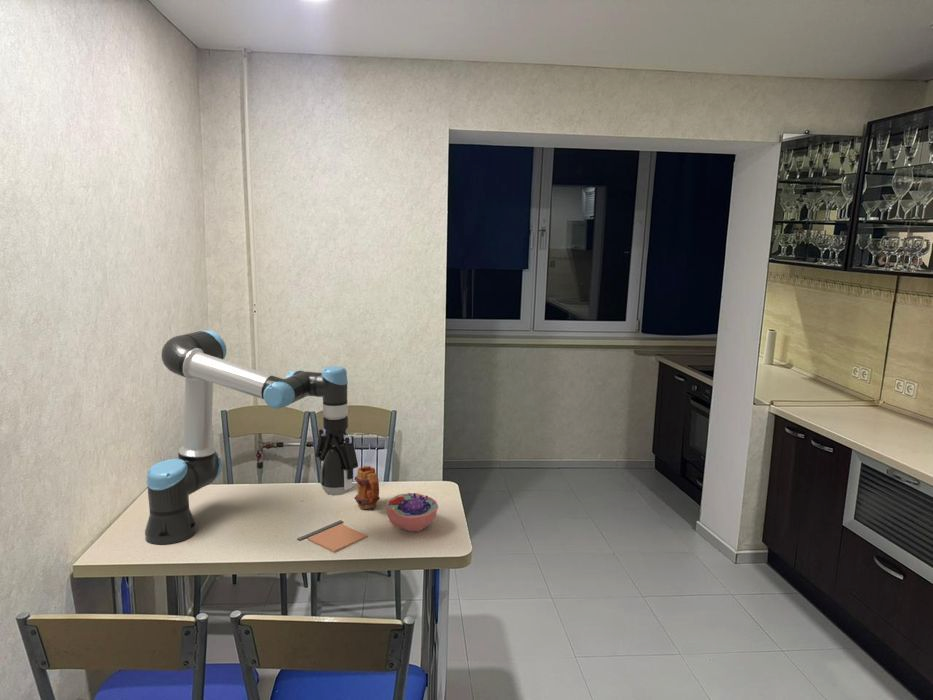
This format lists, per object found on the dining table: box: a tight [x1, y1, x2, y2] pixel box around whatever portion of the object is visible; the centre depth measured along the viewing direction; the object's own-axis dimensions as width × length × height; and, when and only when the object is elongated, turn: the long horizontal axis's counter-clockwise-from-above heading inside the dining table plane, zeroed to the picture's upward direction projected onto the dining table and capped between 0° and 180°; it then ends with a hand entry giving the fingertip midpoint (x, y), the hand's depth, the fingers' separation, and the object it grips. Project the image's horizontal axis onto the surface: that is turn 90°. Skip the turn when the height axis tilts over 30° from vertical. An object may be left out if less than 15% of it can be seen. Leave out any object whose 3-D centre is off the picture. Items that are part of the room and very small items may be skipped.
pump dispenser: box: [319, 446, 354, 496], centre depth 206 cm, size 10×10×15 cm
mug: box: [353, 465, 380, 510], centre depth 232 cm, size 15×8×15 cm, turn 27°
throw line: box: [296, 519, 344, 542], centre depth 216 cm, size 2×18×1 cm, turn 141°
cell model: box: [385, 492, 439, 533], centre depth 219 cm, size 17×20×11 cm
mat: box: [306, 523, 369, 554], centre depth 211 cm, size 13×14×1 cm
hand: (336, 483), depth 207 cm, fingers closed on pump dispenser, 10 cm apart
